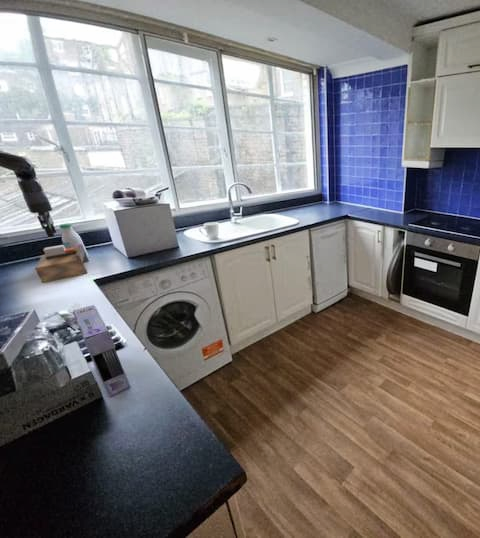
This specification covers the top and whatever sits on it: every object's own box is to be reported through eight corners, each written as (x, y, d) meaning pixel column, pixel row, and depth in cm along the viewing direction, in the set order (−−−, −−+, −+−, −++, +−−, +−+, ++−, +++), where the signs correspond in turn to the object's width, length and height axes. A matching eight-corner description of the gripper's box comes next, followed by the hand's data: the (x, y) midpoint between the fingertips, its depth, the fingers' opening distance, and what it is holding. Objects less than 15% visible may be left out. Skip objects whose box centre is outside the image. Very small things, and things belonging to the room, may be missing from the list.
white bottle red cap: (46, 259, 143) (41, 250, 141) (47, 256, 147) (43, 248, 145) (76, 253, 150) (72, 245, 148) (76, 251, 153) (72, 243, 151)
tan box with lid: (42, 283, 136) (32, 264, 132) (49, 268, 153) (40, 251, 149) (87, 273, 145) (79, 255, 141) (89, 260, 162) (82, 244, 158)
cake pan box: (134, 388, 74) (108, 329, 67) (109, 400, 70) (79, 340, 63) (117, 355, 86) (93, 303, 79) (95, 365, 82) (68, 310, 75)
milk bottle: (89, 255, 170) (75, 221, 162) (88, 258, 164) (74, 224, 156) (71, 258, 165) (55, 224, 157) (70, 262, 160) (54, 226, 152)
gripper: (28, 200, 140) (44, 233, 147) (23, 204, 130) (39, 239, 137) (50, 198, 145) (64, 230, 151) (46, 202, 134) (61, 236, 141)
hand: (52, 234), depth 144 cm, fingers open, 8 cm apart
